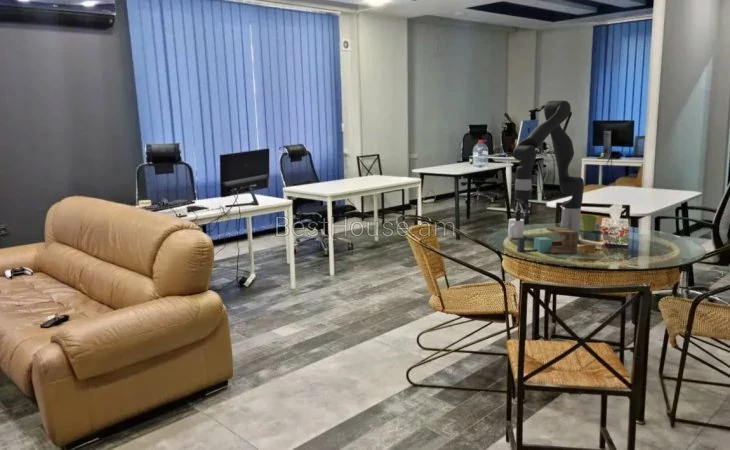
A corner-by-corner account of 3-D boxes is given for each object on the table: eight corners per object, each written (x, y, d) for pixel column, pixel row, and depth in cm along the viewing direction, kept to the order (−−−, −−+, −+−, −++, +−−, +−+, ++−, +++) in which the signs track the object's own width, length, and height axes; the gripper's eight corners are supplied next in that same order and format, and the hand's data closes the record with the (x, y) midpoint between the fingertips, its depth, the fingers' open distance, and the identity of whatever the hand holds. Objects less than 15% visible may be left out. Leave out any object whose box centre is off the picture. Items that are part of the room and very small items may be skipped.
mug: (512, 217, 307) (526, 219, 303) (511, 234, 309) (525, 235, 305) (504, 220, 298) (519, 222, 293) (503, 238, 299) (518, 239, 295)
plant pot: (575, 230, 321) (576, 215, 319) (589, 229, 323) (590, 214, 322) (586, 233, 312) (587, 217, 310) (600, 232, 315) (601, 216, 313)
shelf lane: (538, 247, 275) (539, 227, 273) (562, 246, 277) (563, 226, 276) (551, 253, 263) (552, 232, 261) (576, 252, 265) (577, 231, 263)
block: (515, 250, 269) (516, 236, 268) (544, 249, 272) (545, 235, 271) (521, 253, 264) (521, 238, 262) (551, 251, 266) (552, 237, 265)
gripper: (509, 187, 267) (508, 220, 270) (522, 190, 254) (521, 225, 257) (523, 186, 269) (522, 219, 272) (538, 190, 255) (536, 224, 258)
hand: (522, 222), depth 264 cm, fingers open, 8 cm apart
